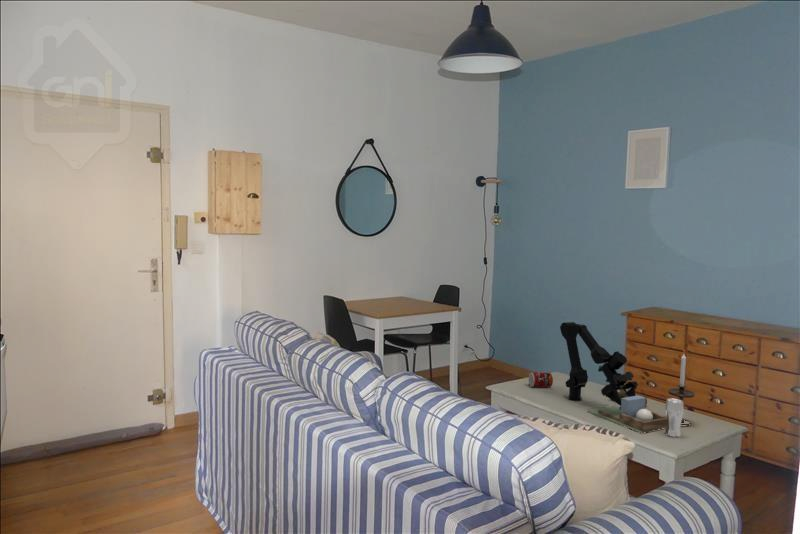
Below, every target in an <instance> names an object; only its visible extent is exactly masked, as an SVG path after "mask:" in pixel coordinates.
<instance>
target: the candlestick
mask: <svg viewBox="0 0 800 534" xmlns="http://www.w3.org/2000/svg"><path fill="white" fill-rule="evenodd" d="M681 350H682V352H683V353H682V356H681V361H680V373H679V374H680V375H679V376H680V377H679V384H677V385H676V386H677V387H678V388H674V387H673V388H669V389H668V391H667V393H668V394H669V395H671V396H673V397H678V398H679V400H682V401H683V402H684V400H683V399H684V398H685V399H686V398H687V399H690V398H695V396H696V393H695V392H694V391H691V390H688V389H686V388H687V386H686V385H685V380H686V378H685V377H686V365H687V364H686V363H687V356H686V355H685V353H686V350H685V348H684V347H682V349H681ZM684 420H685V421H689V422H690V423H689V424H691V421H690V420H688V419H685V418H682V421H681V423H684ZM689 424H681V425H689Z"/></svg>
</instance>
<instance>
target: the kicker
mask: <svg viewBox="0 0 800 534" xmlns="http://www.w3.org/2000/svg"><path fill="white" fill-rule="evenodd" d="M646 399H647V397H644V396H642V395H636V396H631V397H625V398H621V399H620V400H621V406H620V407H621V413H623V414H626V415H628V416H631V417H634V418H636V413H637V412H638V411H639V410H640V409H646V406H645V402H646Z"/></svg>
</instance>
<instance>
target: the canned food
mask: <svg viewBox="0 0 800 534" xmlns="http://www.w3.org/2000/svg"><path fill="white" fill-rule="evenodd" d="M553 383H554V378H553V375H552V373H550V372H529V375H528V384H529V387H531V388H548V387H549V388H550V387H552V386H553Z"/></svg>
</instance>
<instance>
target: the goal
mask: <svg viewBox="0 0 800 534" xmlns="http://www.w3.org/2000/svg"><path fill="white" fill-rule="evenodd" d="M649 411H650V410H649ZM650 412H651V413H652V415H653V420H649V421H641V420H639V419H636V418H634V417H631V416H628V415H626V414H623V413H621V406H617V405H614V406H609V407H607V406H606V407H601V408H596V409H589V410H587V413H589V414H591V415H594V416H596V417H599V418H600V419H601V418H602V419H603V420H606V421H608V422H612V423H614V424H616V423H617V424H616V425H619V426H621V425H622V426H621V427H623V426H625V427H624V428H626V427H627V428H626V429H628V428H630V429H629V430H631V429H633V430H635V431H634V432H636V431H637V433H638V432H640V433H639V434H641V433H643V434H645V433H644V432H648V433H650V432H649V431H653V430H658V429H662V428H666V426H667V423H666V415H665V416H664V415H662V414H659V413H656V412H653V411H650ZM633 430H632V431H633ZM658 431H659V430H658ZM653 432H654V431H653Z"/></svg>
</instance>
